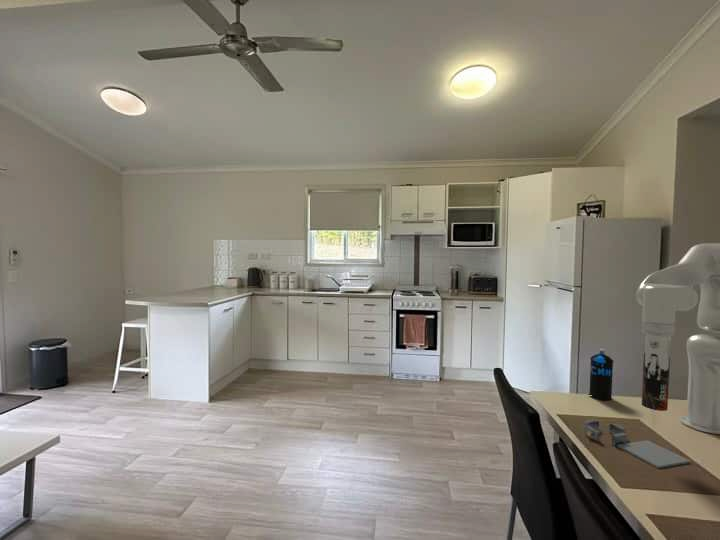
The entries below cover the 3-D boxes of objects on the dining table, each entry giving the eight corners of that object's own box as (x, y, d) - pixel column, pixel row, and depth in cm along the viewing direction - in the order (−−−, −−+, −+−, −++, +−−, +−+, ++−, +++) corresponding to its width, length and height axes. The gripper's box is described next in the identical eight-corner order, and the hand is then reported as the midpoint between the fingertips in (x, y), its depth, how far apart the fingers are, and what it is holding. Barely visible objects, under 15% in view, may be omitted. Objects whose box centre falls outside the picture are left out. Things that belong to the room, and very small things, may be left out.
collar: (605, 427, 127) (605, 418, 127) (636, 442, 117) (637, 433, 117) (574, 431, 124) (575, 422, 124) (604, 447, 113) (604, 437, 113)
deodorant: (658, 411, 105) (660, 359, 105) (636, 403, 111) (638, 353, 111) (672, 409, 107) (675, 357, 107) (650, 401, 113) (653, 352, 112)
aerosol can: (590, 392, 161) (592, 346, 160) (613, 397, 155) (615, 349, 155) (587, 397, 154) (588, 349, 154) (610, 402, 149) (613, 353, 148)
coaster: (647, 442, 117) (647, 440, 117) (690, 462, 106) (690, 460, 106) (617, 446, 114) (617, 444, 114) (657, 468, 102) (657, 466, 102)
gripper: (671, 334, 100) (668, 401, 100) (678, 326, 112) (675, 386, 112) (636, 330, 105) (633, 393, 106) (646, 323, 117) (644, 380, 118)
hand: (655, 389), depth 109 cm, fingers closed on deodorant, 5 cm apart
